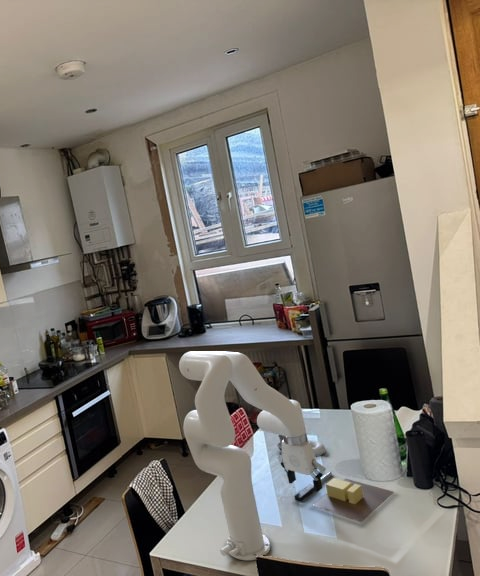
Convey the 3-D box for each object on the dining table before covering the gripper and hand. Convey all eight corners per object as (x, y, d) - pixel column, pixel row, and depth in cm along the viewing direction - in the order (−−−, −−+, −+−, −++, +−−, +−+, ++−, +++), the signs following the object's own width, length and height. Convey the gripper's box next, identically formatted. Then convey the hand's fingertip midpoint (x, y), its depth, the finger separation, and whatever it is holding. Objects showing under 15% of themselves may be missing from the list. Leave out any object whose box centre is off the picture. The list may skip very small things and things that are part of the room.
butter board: (361, 526, 149) (361, 522, 149) (312, 509, 162) (311, 505, 162) (394, 495, 160) (394, 491, 160) (345, 481, 173) (345, 478, 173)
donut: (323, 459, 191) (327, 447, 199) (322, 451, 190) (325, 438, 199) (296, 458, 196) (300, 446, 205) (294, 450, 196) (299, 438, 204)
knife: (301, 505, 165) (300, 497, 165) (295, 503, 167) (294, 495, 167) (335, 478, 176) (333, 471, 176) (329, 477, 178) (327, 470, 178)
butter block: (345, 501, 160) (343, 489, 160) (327, 495, 165) (325, 484, 165) (353, 494, 163) (351, 482, 163) (336, 489, 168) (333, 477, 168)
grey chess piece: (295, 455, 198) (289, 426, 197) (280, 457, 199) (274, 428, 198) (292, 449, 204) (287, 420, 203) (277, 451, 205) (272, 422, 204)
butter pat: (355, 504, 158) (352, 492, 157) (349, 502, 159) (346, 490, 159) (363, 497, 160) (361, 485, 160) (357, 495, 162) (355, 483, 162)
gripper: (266, 437, 172) (276, 483, 174) (312, 448, 158) (323, 498, 160) (279, 428, 176) (289, 473, 178) (325, 438, 162) (336, 487, 164)
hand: (305, 485), depth 169 cm, fingers open, 9 cm apart
